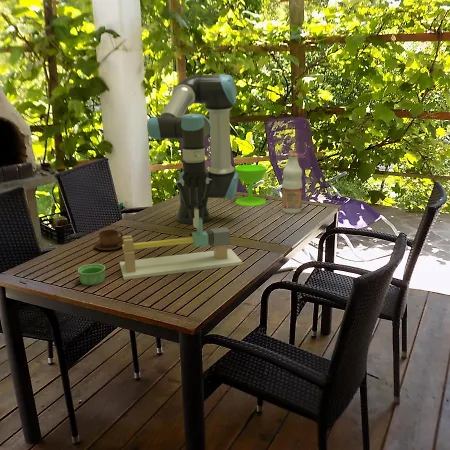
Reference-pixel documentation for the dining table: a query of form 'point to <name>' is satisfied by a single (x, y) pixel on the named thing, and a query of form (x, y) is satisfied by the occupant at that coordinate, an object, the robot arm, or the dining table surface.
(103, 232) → the cup and saucer
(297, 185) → the fruit juice
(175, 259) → the cord rig
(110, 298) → the dining table surface
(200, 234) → the sleeve
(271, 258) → the dining table surface
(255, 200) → the wineglass
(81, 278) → the ramekin
